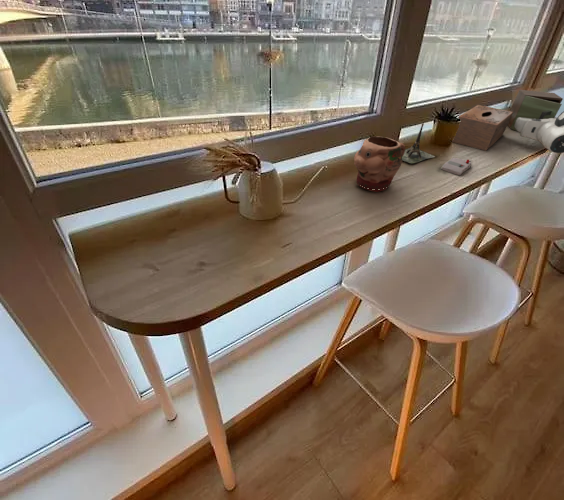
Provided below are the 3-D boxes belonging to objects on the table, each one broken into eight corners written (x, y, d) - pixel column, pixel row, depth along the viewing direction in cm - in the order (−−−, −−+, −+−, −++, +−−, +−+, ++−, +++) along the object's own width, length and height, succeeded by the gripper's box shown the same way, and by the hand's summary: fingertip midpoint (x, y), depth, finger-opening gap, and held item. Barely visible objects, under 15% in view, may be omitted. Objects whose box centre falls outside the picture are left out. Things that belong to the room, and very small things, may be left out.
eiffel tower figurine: (413, 148, 129) (423, 112, 120) (435, 156, 123) (448, 120, 114) (388, 155, 122) (397, 119, 113) (411, 165, 115) (422, 127, 107)
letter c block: (535, 140, 140) (553, 105, 131) (503, 130, 150) (518, 97, 141) (543, 138, 143) (562, 104, 134) (511, 128, 152) (526, 95, 143)
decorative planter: (380, 169, 112) (389, 128, 103) (410, 182, 105) (423, 140, 96) (339, 184, 102) (346, 140, 93) (369, 200, 95) (380, 154, 86)
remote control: (438, 170, 113) (441, 162, 111) (455, 158, 122) (458, 150, 120) (457, 177, 109) (461, 168, 107) (474, 164, 118) (477, 156, 116)
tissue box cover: (486, 150, 129) (497, 125, 123) (449, 141, 136) (458, 116, 130) (502, 135, 144) (513, 111, 138) (469, 127, 152) (477, 104, 145)
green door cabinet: (544, 132, 150) (563, 98, 141) (510, 128, 153) (525, 95, 144) (537, 125, 158) (554, 92, 149) (504, 121, 161) (519, 89, 152)
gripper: (584, 125, 123) (571, 116, 133) (524, 119, 127) (515, 110, 138) (574, 142, 127) (562, 131, 137) (516, 135, 131) (509, 125, 142)
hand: (538, 121), depth 138 cm, fingers closed
